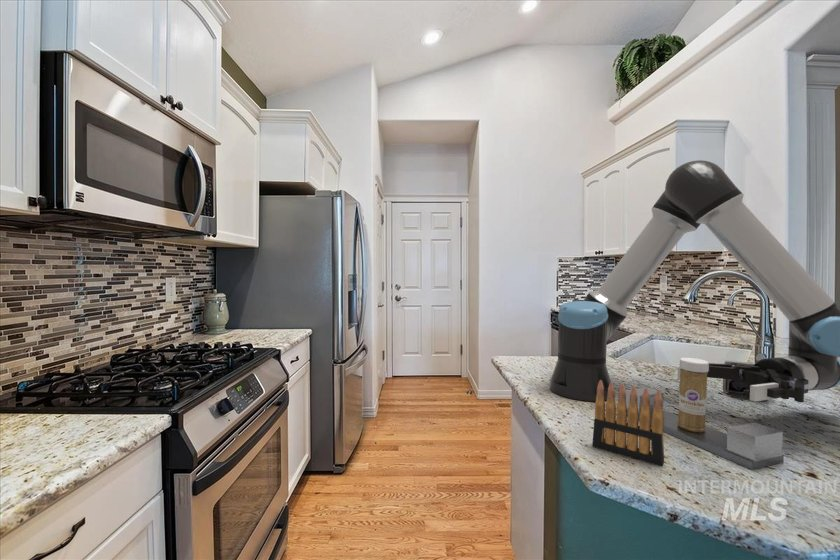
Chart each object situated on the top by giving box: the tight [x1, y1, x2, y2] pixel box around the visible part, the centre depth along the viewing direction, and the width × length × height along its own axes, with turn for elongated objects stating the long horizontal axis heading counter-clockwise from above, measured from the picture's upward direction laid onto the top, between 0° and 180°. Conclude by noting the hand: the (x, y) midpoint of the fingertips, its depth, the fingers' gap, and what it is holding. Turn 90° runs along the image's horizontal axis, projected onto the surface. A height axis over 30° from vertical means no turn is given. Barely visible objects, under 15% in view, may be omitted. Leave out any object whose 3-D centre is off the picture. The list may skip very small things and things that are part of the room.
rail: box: [625, 387, 785, 470], centre depth 73 cm, size 25×8×5 cm, turn 19°
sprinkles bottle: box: [677, 357, 710, 432], centre depth 73 cm, size 5×5×13 cm
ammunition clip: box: [591, 380, 665, 467], centre depth 65 cm, size 11×2×12 cm, turn 52°
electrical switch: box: [722, 359, 768, 402], centre depth 96 cm, size 9×5×9 cm, turn 57°
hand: (712, 382), depth 74 cm, fingers open, 13 cm apart
